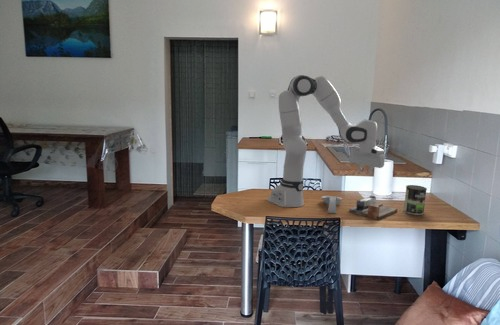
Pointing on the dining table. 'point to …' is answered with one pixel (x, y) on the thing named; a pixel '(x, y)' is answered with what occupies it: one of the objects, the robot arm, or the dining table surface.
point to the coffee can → (415, 199)
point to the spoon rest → (331, 203)
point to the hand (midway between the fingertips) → (364, 172)
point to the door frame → (374, 211)
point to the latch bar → (366, 201)
